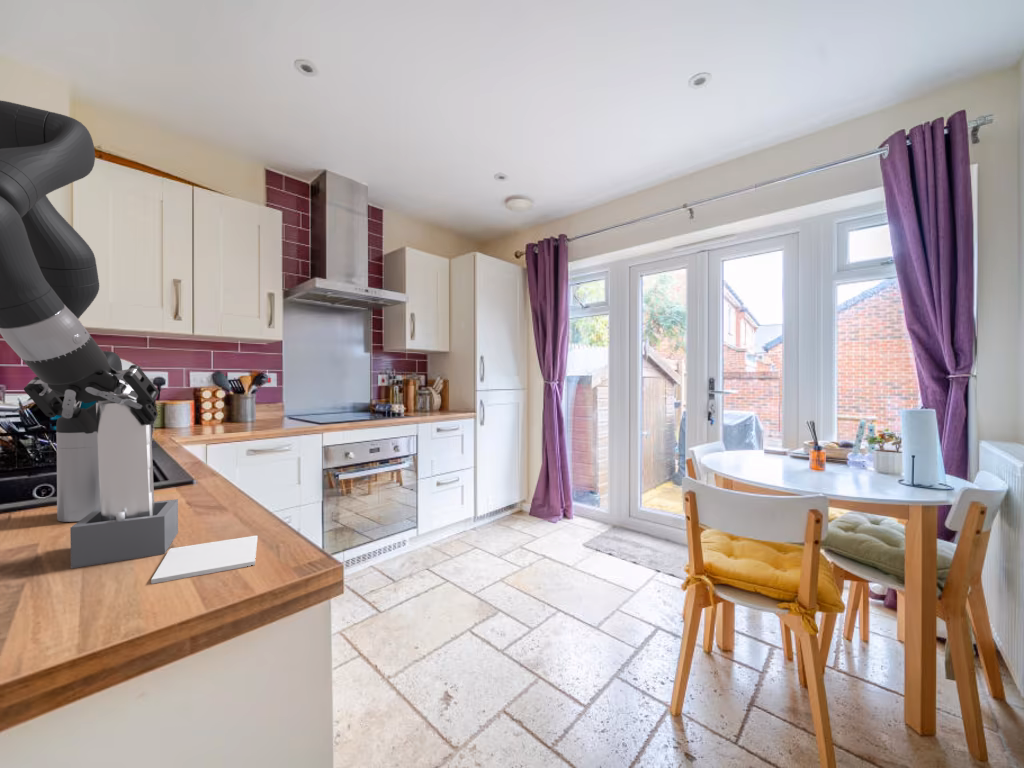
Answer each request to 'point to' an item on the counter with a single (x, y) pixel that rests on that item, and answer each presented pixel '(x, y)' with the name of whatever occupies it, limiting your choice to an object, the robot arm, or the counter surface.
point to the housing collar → (123, 536)
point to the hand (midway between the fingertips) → (122, 425)
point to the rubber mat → (206, 558)
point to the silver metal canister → (124, 462)
